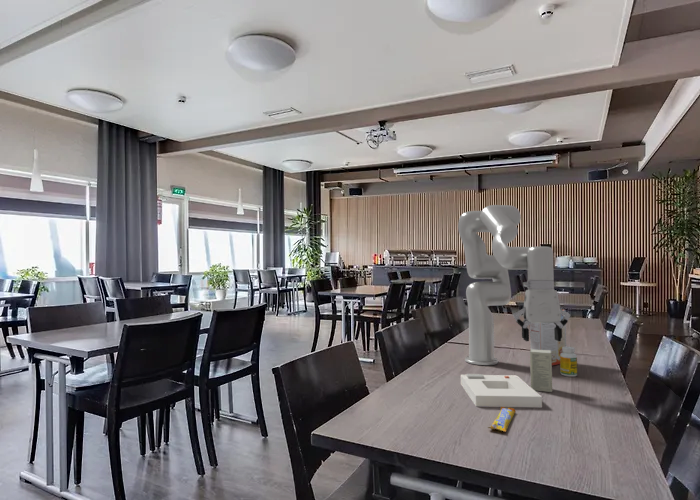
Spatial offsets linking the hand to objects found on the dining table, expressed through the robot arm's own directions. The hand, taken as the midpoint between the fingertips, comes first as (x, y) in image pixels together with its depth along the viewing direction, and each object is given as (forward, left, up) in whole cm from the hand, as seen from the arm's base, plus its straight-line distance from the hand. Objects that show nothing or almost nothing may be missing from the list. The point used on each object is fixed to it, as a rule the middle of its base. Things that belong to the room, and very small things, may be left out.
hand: (541, 340), depth 139 cm
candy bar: (+28, -20, -16) cm, 38 cm away
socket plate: (+5, -15, -15) cm, 22 cm away
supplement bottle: (-19, +16, -16) cm, 29 cm away
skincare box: (-1, 0, -16) cm, 16 cm away
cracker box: (-35, +15, -16) cm, 41 cm away
